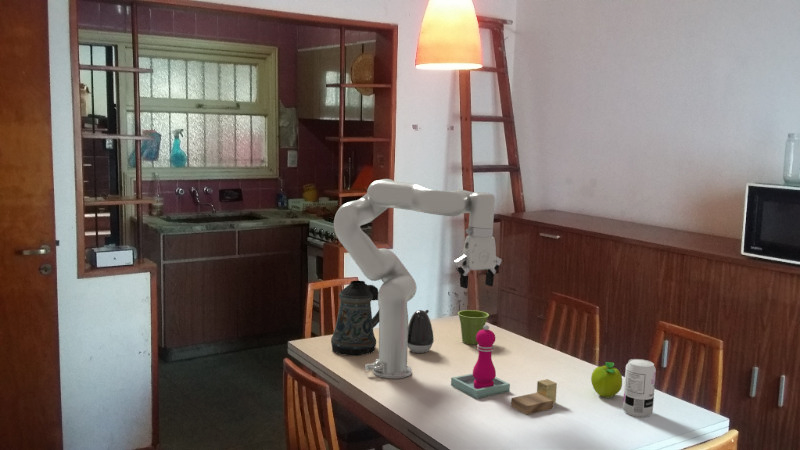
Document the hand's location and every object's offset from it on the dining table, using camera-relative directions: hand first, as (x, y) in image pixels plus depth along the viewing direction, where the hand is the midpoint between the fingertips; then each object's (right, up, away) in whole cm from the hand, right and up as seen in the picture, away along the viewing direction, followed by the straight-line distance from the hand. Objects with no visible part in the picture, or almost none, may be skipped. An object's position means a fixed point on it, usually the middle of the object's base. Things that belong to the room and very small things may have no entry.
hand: (476, 286), depth 225 cm
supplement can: (+45, -36, -16) cm, 60 cm away
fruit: (+39, -34, -3) cm, 52 cm away
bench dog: (+20, -34, -9) cm, 40 cm away
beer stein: (-40, -26, +38) cm, 61 cm away
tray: (+1, -32, 0) cm, 32 cm away
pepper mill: (+2, -32, -1) cm, 32 cm away
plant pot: (+4, -26, +49) cm, 56 cm away
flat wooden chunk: (+15, -35, -14) cm, 40 cm away
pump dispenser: (-17, -27, +37) cm, 48 cm away
